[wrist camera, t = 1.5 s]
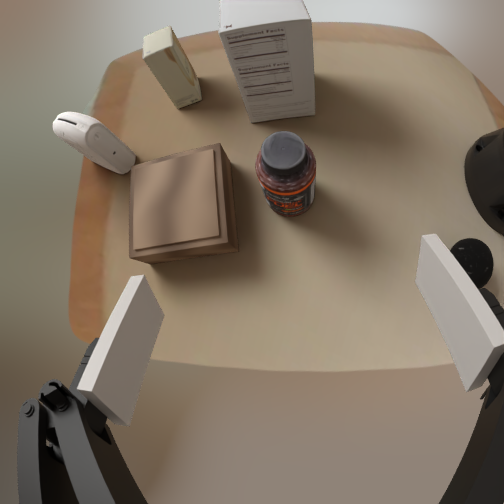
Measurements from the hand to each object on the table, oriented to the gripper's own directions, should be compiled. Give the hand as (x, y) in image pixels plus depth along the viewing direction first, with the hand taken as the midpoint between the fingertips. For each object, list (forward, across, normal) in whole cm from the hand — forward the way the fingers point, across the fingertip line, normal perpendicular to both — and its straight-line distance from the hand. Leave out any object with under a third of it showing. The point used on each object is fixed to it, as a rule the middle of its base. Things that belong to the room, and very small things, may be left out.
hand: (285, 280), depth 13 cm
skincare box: (+38, -12, +9) cm, 41 cm away
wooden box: (+24, -12, -6) cm, 27 cm away
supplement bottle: (+24, +1, -6) cm, 24 cm away
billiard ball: (+15, +21, -14) cm, 30 cm away
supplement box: (+35, +2, +5) cm, 35 cm away
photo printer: (+32, -25, +2) cm, 41 cm away
